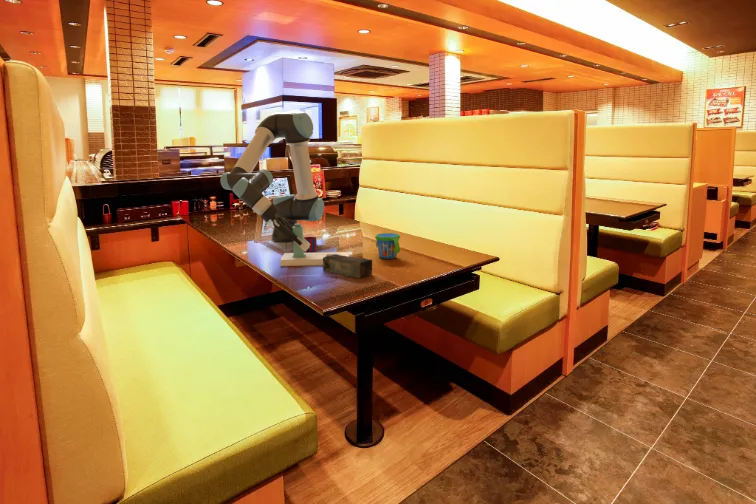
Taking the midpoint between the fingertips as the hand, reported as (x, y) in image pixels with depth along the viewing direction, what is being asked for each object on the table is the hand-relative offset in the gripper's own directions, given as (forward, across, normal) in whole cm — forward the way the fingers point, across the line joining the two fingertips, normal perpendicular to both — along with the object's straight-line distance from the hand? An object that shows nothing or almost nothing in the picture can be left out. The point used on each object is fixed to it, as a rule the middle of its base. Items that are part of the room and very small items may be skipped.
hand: (307, 248), depth 201 cm
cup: (+3, -20, -7) cm, 21 cm away
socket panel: (+7, 0, -2) cm, 7 cm away
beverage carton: (+17, +17, +7) cm, 25 cm away
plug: (+1, 0, -7) cm, 7 cm away
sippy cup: (+29, -7, +20) cm, 36 cm away
